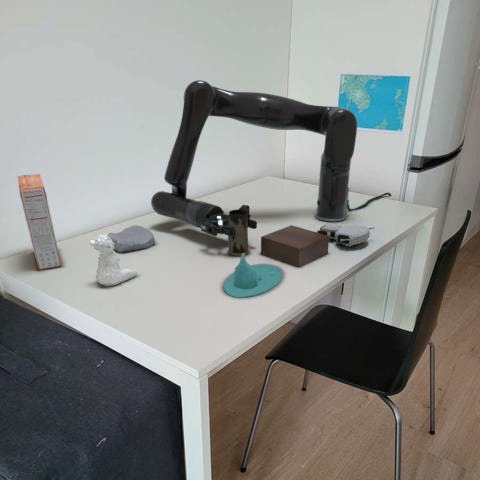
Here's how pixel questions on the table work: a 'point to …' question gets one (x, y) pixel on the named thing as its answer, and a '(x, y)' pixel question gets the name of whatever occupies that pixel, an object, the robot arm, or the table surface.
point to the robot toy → (346, 233)
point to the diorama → (251, 279)
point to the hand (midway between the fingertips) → (245, 229)
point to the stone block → (132, 238)
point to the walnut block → (294, 245)
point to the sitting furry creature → (109, 263)
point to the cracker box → (39, 221)
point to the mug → (239, 230)
